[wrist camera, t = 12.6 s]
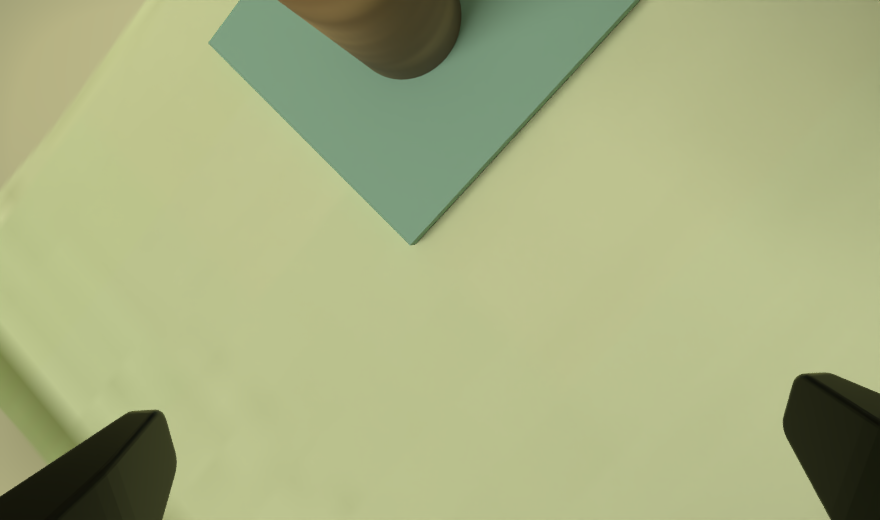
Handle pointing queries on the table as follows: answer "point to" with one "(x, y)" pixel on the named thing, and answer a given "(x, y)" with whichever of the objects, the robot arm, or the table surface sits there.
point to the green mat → (416, 95)
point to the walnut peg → (387, 31)
